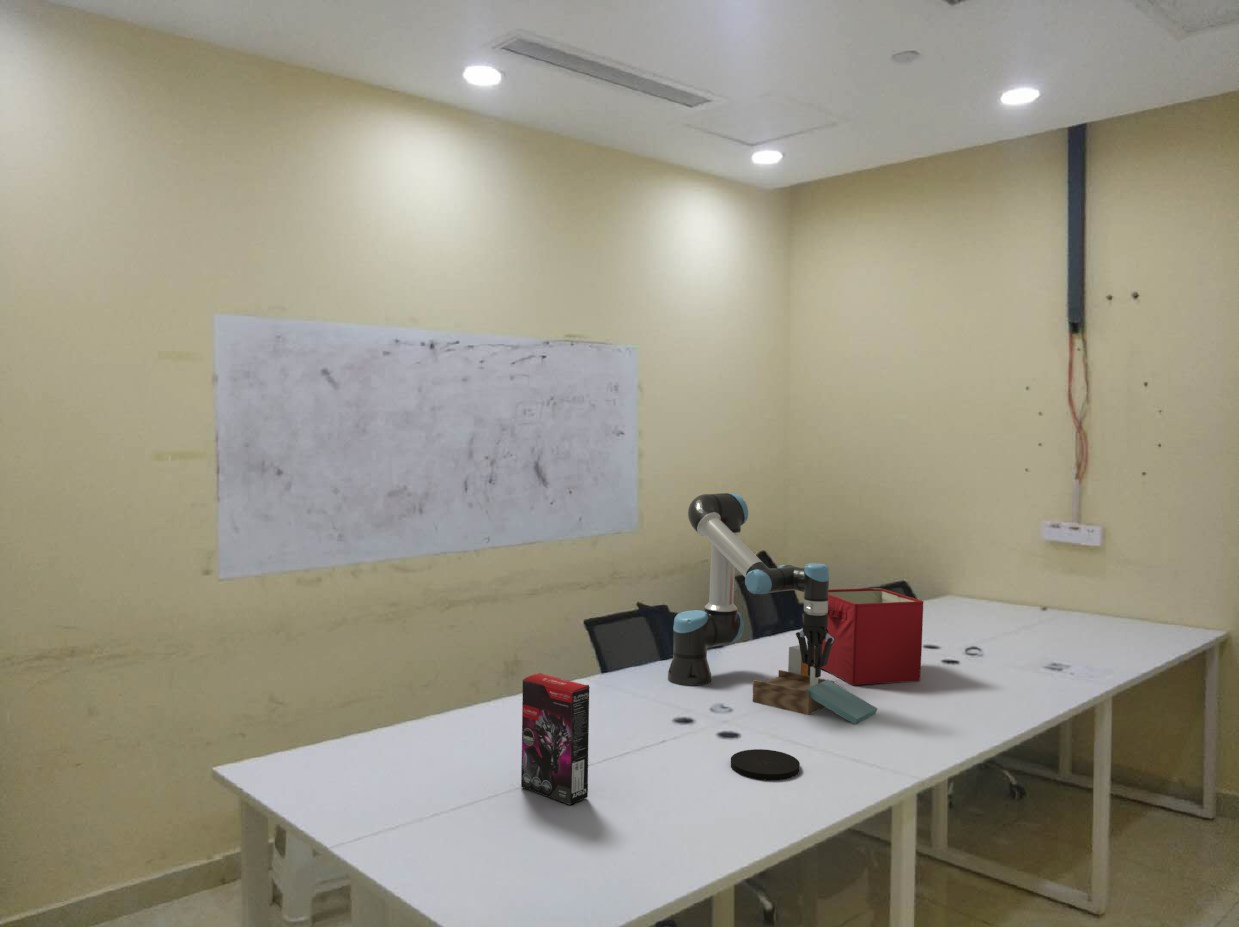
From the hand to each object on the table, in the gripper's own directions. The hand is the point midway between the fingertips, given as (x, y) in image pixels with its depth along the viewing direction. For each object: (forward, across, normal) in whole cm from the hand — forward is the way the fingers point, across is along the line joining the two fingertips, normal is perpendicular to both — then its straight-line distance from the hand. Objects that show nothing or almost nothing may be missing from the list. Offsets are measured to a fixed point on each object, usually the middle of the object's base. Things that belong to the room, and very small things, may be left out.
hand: (813, 686), depth 296 cm
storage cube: (+7, -5, +48) cm, 49 cm away
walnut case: (+7, -7, 0) cm, 10 cm away
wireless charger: (+7, +16, -55) cm, 58 cm away
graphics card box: (+7, -13, -104) cm, 106 cm away
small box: (+7, -15, +20) cm, 26 cm away
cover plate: (+4, +9, 0) cm, 10 cm away
